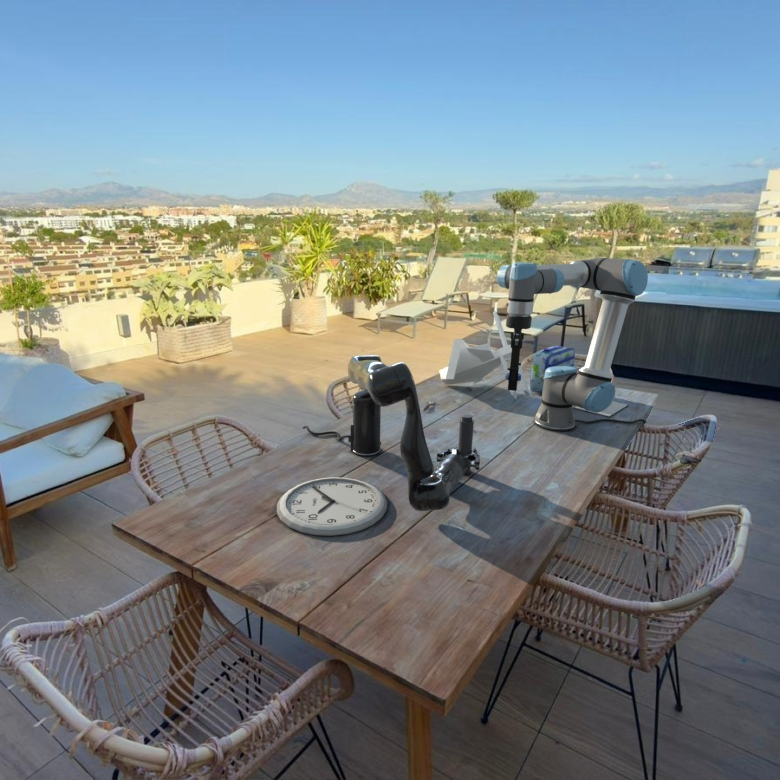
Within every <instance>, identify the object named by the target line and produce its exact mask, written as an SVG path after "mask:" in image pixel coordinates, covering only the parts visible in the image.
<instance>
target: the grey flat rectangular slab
mask: <svg viewBox="0 0 780 780" xmlns="http://www.w3.org/2000/svg"><path fill="white" fill-rule="evenodd" d="M628 406H629V404H627V403H623V402H618V401H614V400H613V401H612V402H611V404H610V405H609V406H608V407H607V408H606V409H605V410H603V411H601V412H593V411H587V410H585V409H583V408H580V407H577V406H574V407H573V409H575V410H581V411H584V412H587V413H593V414H596V415H600V416H604V417H608V418H609V417H611V416H613V415H614V414H616V413H617V412H619V411H621V410H623V409H624V408H626V407H628Z"/></svg>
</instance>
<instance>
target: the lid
mask: <svg viewBox="0 0 780 780" xmlns="http://www.w3.org/2000/svg"><path fill="white" fill-rule="evenodd" d="M505 380H506V381H507V380H509V373H506V377H505ZM520 380H521V374H519V373H518V381H517V382H520Z"/></svg>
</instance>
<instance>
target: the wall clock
mask: <svg viewBox="0 0 780 780" xmlns="http://www.w3.org/2000/svg"><path fill="white" fill-rule="evenodd" d="M387 509H388V500H387V498H386V496H385V494H384V493H383V492H382V491H381V490H380V489H379V488H377V487H376V486H374V485H372V484H371V483H369V482H365V481H362V480H359V479H355V478H349V477H338V476H337V477H335V476H333V477H332V476H331V477H322V478H317V479H312V480H307V481H305V482H302V483H299V484H297V485H295V486H293V487H292V488H290V489H288V490H287V491H286V492H285V493H284V494H283V495H281V496H280V498H279V499H278V502H277V503H276V515H277V517H278V518H279V520H280V521H281V522H282V523H283V524H285V525H286V526H287V527H288V528H290V529H293V530H295V531H297V532H299V533H303V534H308V535H312V536H327V537H328V536H329V537H331V536H332V537H333V536H342V535H350V534H352V533H356V532H361V531H363V530H366V529H368V528H369V527H372V526H373V525H375V524H376V523H378V522H379V521H380V520H381V519H382V518H383V517H384V516H385V514H386V512H387Z"/></svg>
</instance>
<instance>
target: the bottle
mask: <svg viewBox="0 0 780 780" xmlns="http://www.w3.org/2000/svg"><path fill="white" fill-rule="evenodd" d="M460 417H461V418H460V419H459V430H458V444H457V445H458V446H457V447H458V455H465V454H466V453H468V454H469V453H471V451H472V450H473V438H474V426H475V425H474V422H475V421H474V419H473V415H472V414H469V413H464V414H461V416H460ZM471 468H472V467H470V468H469V469H467V471H466V472H465V474H464V475H469V474H471Z"/></svg>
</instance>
